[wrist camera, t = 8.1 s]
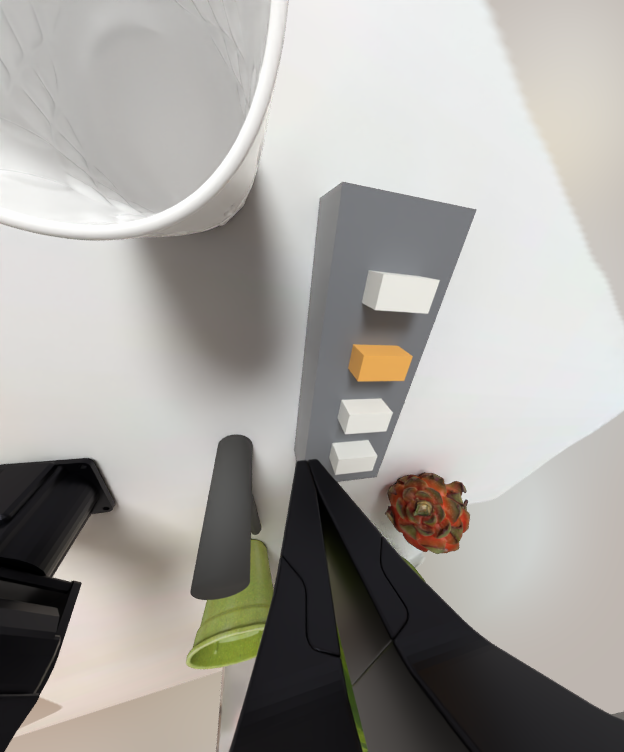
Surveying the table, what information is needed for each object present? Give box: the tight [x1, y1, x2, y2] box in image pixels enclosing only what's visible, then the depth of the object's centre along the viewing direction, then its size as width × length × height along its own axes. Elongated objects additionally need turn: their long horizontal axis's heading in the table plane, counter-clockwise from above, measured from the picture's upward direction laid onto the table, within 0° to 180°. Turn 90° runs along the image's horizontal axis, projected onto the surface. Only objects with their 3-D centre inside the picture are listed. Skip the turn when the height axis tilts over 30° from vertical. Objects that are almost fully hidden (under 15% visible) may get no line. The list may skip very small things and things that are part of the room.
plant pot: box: [186, 540, 274, 669], centre depth 26 cm, size 9×9×9 cm
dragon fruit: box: [385, 473, 470, 554], centre depth 27 cm, size 8×8×12 cm
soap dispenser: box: [216, 657, 256, 752], centre depth 34 cm, size 6×9×22 cm
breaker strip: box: [294, 182, 476, 482], centre depth 16 cm, size 20×7×6 cm, turn 174°
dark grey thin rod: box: [251, 495, 261, 535], centre depth 24 cm, size 11×1×1 cm, turn 2°
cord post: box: [191, 435, 252, 600], centre depth 16 cm, size 3×3×10 cm
